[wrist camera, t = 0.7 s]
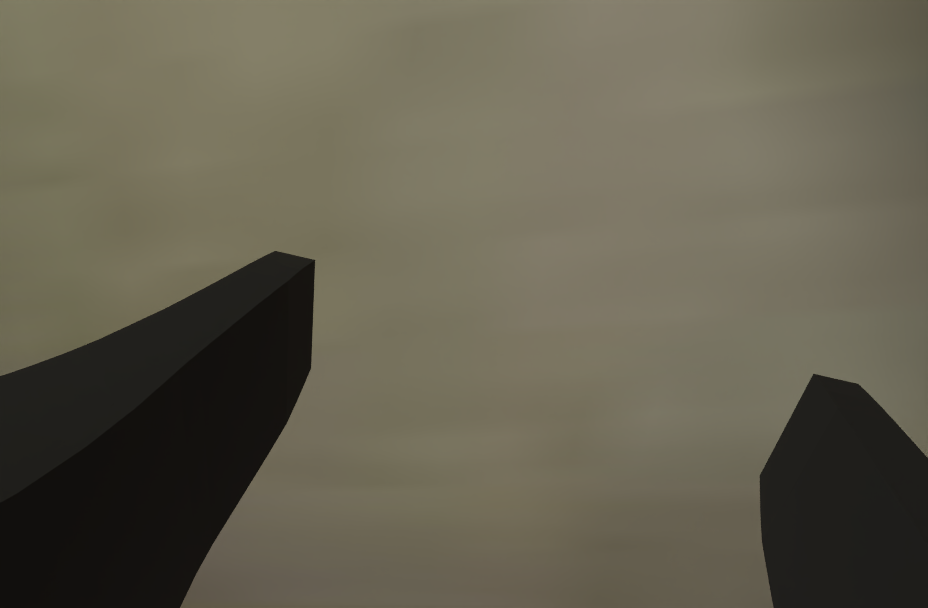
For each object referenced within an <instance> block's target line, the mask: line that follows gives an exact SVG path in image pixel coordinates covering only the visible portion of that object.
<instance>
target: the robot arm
mask: <svg viewBox="0 0 928 608" xmlns="http://www.w3.org/2000/svg"><path fill="white" fill-rule="evenodd" d="M314 273H315V260H312V259H308V258H304V257H299V256H295V255H291V254H286V253H282V252H277V251H274V252H272V253H270V254H268V255H266V256H264V257H262V258H260V259H258V260H256V261H254V262H252V263H250V264H248V265H247V266H245V267H243V268H241V269H239V270H237V271H236V272H234V273H232V274H230V275H228V276H226V277H224V278H223V279H221V280H219V281H217V282H215V283H213V284H211V285H210V286H208V287H206V288H204V289H202V290H200V291H198V292H196V293H194V294H192V295H190V296H189V297H187V298H185V299H183V300H181V301H179V302H177V303H175V304H173V305H171V306H169V307H167V308H165V309H163V310H161V311H159V312H157V313H155V314H153V315H151V316H148V317H146V318H144V319H142V320H140V321H138V322H136V323H133V324H131V325H129V326H127V327H125V328H123V329H120V330H118V331H116V332H114V333H112V334H110V335H108V336H105V337H103V338H101V339H99V340H96V341H94V342H92V343H89V344H87V345H85V346H82V347H79V348H77V349H74V350H72V351H69V352H67V353H64V354H62V355H59V356H56V357H54V358H51V359H48V360H45V361H43V362H40V363H37V364H35V365H32V366H29V367H26V368H24V369H21V370H18V371H15V372H12V373H9V374H6V375H3V376H0V608H180V606H181V604H182V602H183V600H184V598H185V596H186V594H187V592H188V590H189V588H190V586H191V583H192V581H193V579H194V577H195V575H196V573H197V571H198V569H199V568H200V566H201V564H202V562H203V561H204V559H205V557H206V555H207V553H208V552H209V550H210V548H211V546H212V544H213V543H214V541H215V540H216V538H217V536H218V535H219V533H220V531H221V530H222V528H223V527H224V525H225V523H226V522H227V520H228V518H229V517H230V515H231V514H232V512H233V510H234V509H235V507H236V506H237V504H238V502H239V501H240V499H241V497H242V496H243V494H244V493H245V491H246V489H247V488H248V486H249V485H250V483H251V481H252V480H253V478H254V476H255V475H256V473H257V472H258V470H259V468H260V467H261V465H262V463H263V462H264V460H265V459H266V457H267V455H268V454H269V452H270V450H271V449H272V447H273V445H274V444H275V442H276V440H277V439H278V437H279V435H280V434H281V432H282V430H283V429H284V427H285V425H286V424H287V421H288V419H289V417H290V415H291V413H292V411H293V408H294V406H295V404H296V402H297V400H298V397H299V395H300V393H301V390H302V388H303V386H304V383H305V381H306V379H307V376H308V374H309V372H310V369H311V354H312V327H313V300H314ZM760 511H761V530H762V543H763V550H764V556H765V562H766V567H767V573H768V579H769V584H770V590H771V596H772V601H773V606H774V608H928V458H927V457H926V456H925V455H924V453H923V452H922V451H921V450H920V449H919V448H918V447H917V446H916V445H915V443H914V442H913V441H912V440H911V439H910V438H909V437H908V436H907V435H906V433H905V432H904V431H903V430H902V429H901V428H900V427H899V426H898V425H897V424H896V422H895V421H894V420H893V419H892V418H891V417H890V416H889V415H888V414H887V413H886V412H885V410H884V409H883V408H882V407H881V406H880V405H879V404H878V403H877V402H876V401H875V400H874V399H873V398H872V397H871V396H870V395H869V394H868V393H867V392H866V391H865V390H864V389H863V388H862V387H861V386H860V385H859V384H856V383H851V382H847V381H843V380H838V379H834V378H829V377H825V376H821V375H816V374H813V376H812V378H811V380H810V382H809V383H808V385H807V387H806V389H805V391H804V393H803V395H802V397H801V399H800V400H799V402H798V404H797V406H796V408H795V410H794V412H793V414H792V416H791V418H790V419H789V421H788V423H787V425H786V427H785V429H784V431H783V433H782V435H781V436H780V438H779V440H778V442H777V444H776V446H775V448H774V450H773V452H772V454H771V455H770V457H769V459H768V461H767V463H766V465H765V467H764V469H763V471H762V472H761V474H760Z"/></svg>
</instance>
